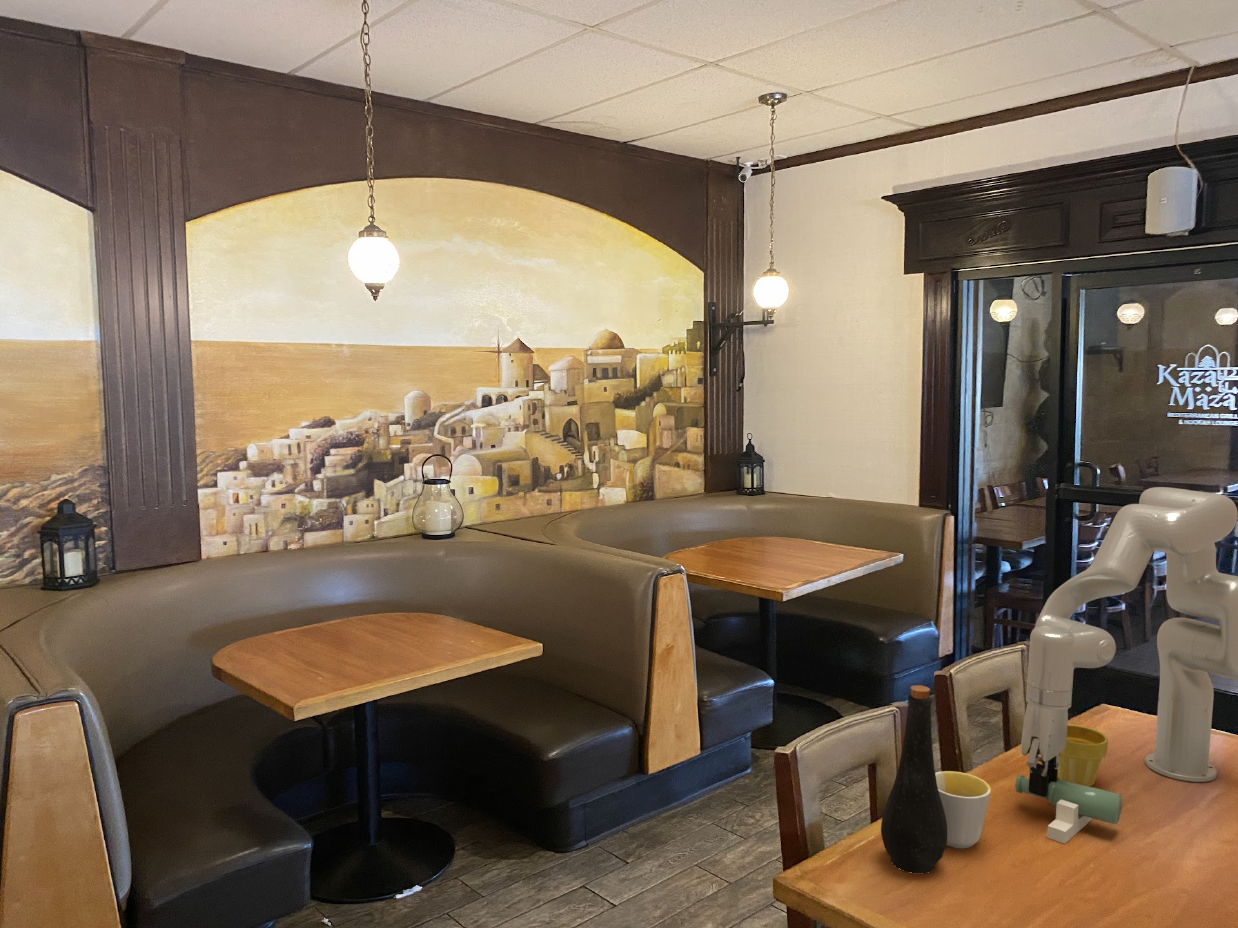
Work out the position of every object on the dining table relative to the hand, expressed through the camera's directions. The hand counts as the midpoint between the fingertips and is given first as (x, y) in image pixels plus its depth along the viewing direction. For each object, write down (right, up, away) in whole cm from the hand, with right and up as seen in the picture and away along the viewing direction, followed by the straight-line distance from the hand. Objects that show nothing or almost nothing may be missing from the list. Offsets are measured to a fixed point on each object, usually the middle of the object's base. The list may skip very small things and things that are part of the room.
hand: (1042, 789), depth 174 cm
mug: (-18, -6, -9) cm, 21 cm away
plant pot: (+13, -3, +15) cm, 20 cm away
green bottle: (+9, 0, -9) cm, 13 cm away
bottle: (-30, -6, -17) cm, 35 cm away
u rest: (+4, -5, -3) cm, 7 cm away
